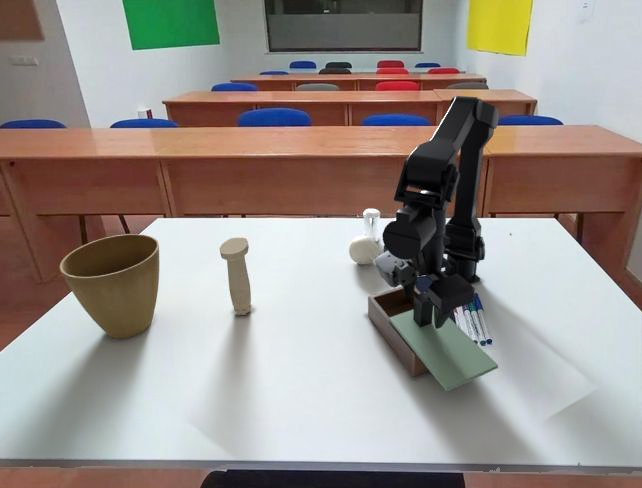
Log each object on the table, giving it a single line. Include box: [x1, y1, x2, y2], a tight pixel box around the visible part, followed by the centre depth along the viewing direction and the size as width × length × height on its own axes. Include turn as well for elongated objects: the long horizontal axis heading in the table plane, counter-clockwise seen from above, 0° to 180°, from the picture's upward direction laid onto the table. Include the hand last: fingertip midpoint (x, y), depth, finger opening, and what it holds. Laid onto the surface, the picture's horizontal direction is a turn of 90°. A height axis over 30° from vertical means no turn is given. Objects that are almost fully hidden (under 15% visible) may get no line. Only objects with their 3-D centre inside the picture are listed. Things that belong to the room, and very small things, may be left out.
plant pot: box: [59, 233, 160, 340], centre depth 73 cm, size 15×15×16 cm
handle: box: [219, 237, 252, 316], centre depth 77 cm, size 5×6×15 cm
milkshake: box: [362, 208, 383, 244], centre depth 106 cm, size 5×5×10 cm
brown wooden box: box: [367, 286, 430, 377], centre depth 72 cm, size 10×17×4 cm, turn 27°
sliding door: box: [389, 291, 499, 392], centre depth 64 cm, size 10×17×6 cm, turn 27°
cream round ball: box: [348, 235, 379, 265], centre depth 96 cm, size 7×7×7 cm
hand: (422, 311), depth 68 cm, fingers open, 9 cm apart
